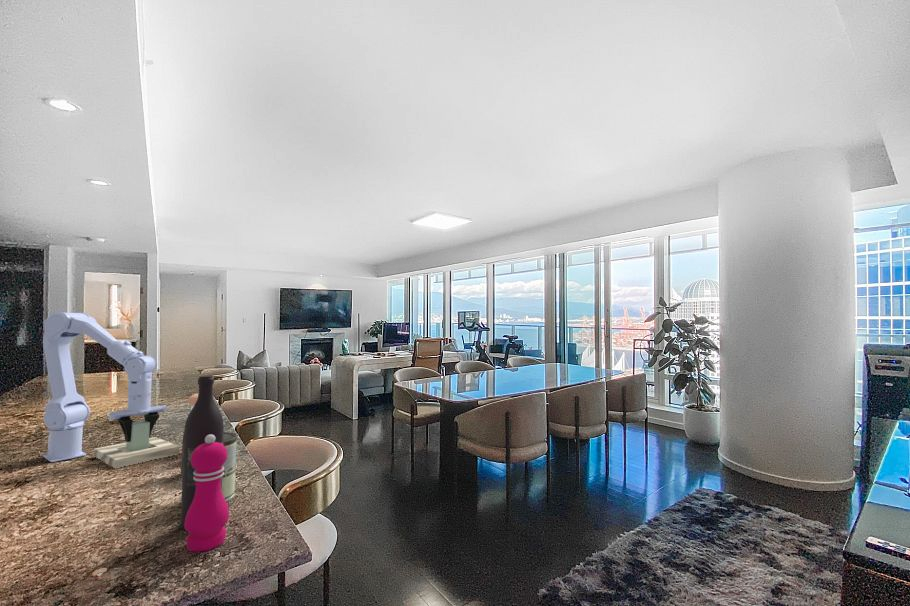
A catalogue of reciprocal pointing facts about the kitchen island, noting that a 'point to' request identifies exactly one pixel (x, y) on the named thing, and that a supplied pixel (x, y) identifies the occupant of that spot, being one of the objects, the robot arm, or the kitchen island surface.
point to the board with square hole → (135, 453)
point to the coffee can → (229, 466)
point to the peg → (139, 436)
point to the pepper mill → (207, 498)
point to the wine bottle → (199, 437)
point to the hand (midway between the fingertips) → (137, 439)
